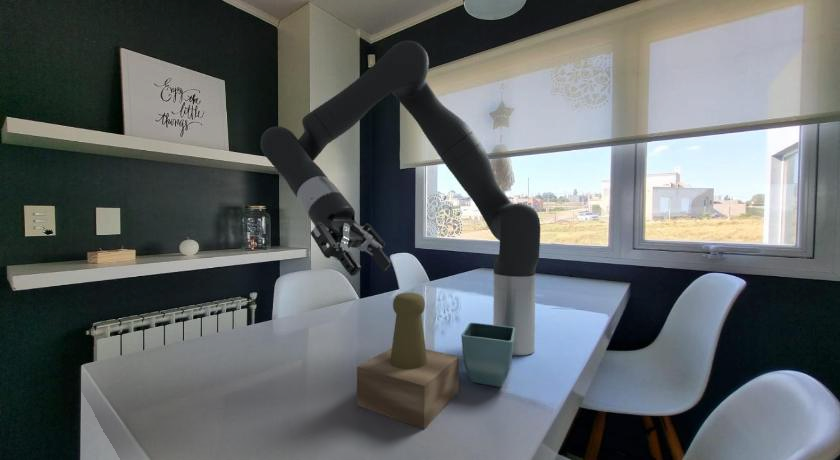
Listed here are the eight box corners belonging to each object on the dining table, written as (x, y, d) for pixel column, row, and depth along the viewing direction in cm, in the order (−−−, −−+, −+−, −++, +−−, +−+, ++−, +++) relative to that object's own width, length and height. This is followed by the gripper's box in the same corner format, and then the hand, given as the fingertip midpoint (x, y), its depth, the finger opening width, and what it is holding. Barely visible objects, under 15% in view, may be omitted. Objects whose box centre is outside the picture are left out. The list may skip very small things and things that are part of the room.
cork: (423, 370, 50) (423, 298, 50) (385, 367, 51) (385, 296, 51) (430, 355, 56) (430, 290, 56) (395, 352, 57) (396, 289, 57)
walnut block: (399, 375, 62) (399, 343, 61) (458, 391, 56) (458, 356, 56) (356, 405, 51) (357, 366, 51) (424, 429, 45) (424, 385, 45)
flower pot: (515, 373, 63) (515, 326, 63) (512, 395, 55) (512, 341, 54) (469, 366, 66) (469, 321, 66) (460, 386, 57) (460, 335, 57)
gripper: (305, 186, 55) (358, 258, 49) (361, 194, 67) (408, 252, 62) (284, 218, 58) (332, 290, 52) (341, 220, 70) (385, 278, 64)
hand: (373, 269), depth 57 cm, fingers open, 8 cm apart
